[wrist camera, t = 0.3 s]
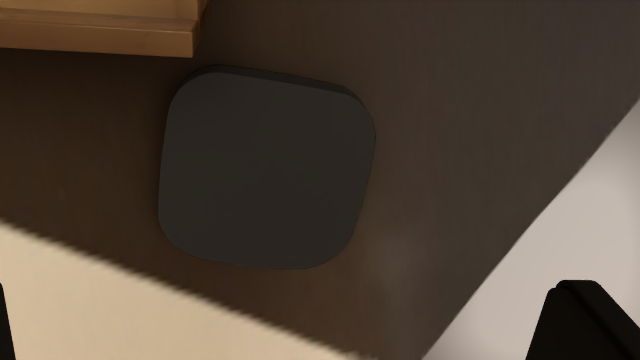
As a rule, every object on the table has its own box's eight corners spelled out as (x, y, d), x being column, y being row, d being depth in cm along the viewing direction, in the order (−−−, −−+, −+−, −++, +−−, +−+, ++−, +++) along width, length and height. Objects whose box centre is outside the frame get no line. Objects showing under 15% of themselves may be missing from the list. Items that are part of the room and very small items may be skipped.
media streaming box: (175, 53, 38) (170, 64, 35) (381, 89, 41) (390, 101, 38) (157, 237, 44) (151, 258, 41) (338, 257, 47) (343, 279, 44)
